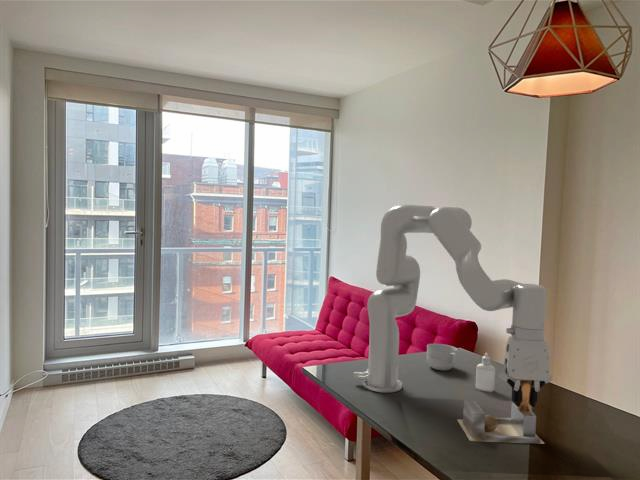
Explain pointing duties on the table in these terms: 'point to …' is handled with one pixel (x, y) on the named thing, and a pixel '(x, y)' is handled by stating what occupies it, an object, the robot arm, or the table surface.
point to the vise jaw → (524, 412)
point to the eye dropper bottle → (485, 375)
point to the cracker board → (503, 432)
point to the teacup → (441, 356)
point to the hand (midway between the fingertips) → (523, 404)
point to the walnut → (490, 423)
